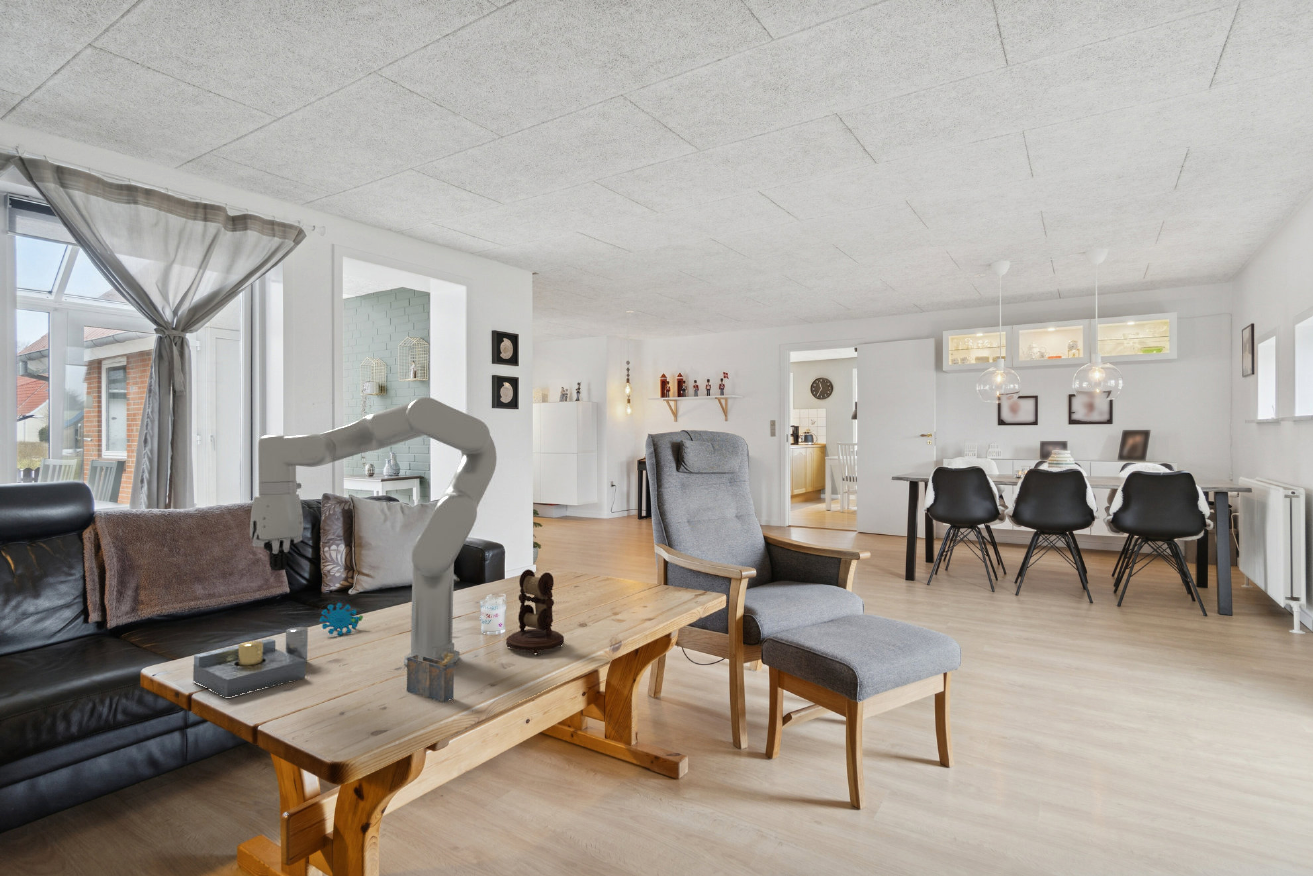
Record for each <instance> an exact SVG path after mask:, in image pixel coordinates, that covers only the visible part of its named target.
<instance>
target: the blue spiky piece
mask: <svg viewBox="0 0 1313 876" xmlns="http://www.w3.org/2000/svg"><path fill="white" fill-rule="evenodd" d="M342 606H343V604H342V602H337V603H336V608H335V609H334V604H329V605H327V609H326V608H324V609H323V610H322V611H321V616H320V619H319V622H321V623H322V625H321V627H322V630H326V629H327V628H329V629H328V631H327V632H328V634H329V635H333V634H334V632H335V631H337V630H338V629H339V630H338V631H337V634H336V635H337V636H339V637H340V636H341V637H342V635H343V634H344V631H343V630H344V629H346V631H345V634H346V635H349V634H351V633H352V632H353V631H352V630H355V629H357V627H358V625H359V622H362V620H363V619H364V616H363V615H362V614H361V615H359V616H358V615H357V610H356V609H355V608H354V609H352V610H350V609H351V605H349V604H346V605H345V607H343V608H342ZM340 608H342V609H340ZM328 610H329V612H330V613H328ZM325 616H326V617H327V618H326V617H325ZM323 622H324V623H323ZM350 626H351V628H350Z"/></svg>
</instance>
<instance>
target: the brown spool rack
mask: <svg viewBox="0 0 1313 876" xmlns="http://www.w3.org/2000/svg"><path fill="white" fill-rule="evenodd" d="M518 582H519V584H518V585H519V587H520V589H519V592H520V594H519V595H518V600H519V603H520V607H519V611H518V617H517V618H518V623H519V626H518V627H519V631H515V632H513V633H512V634H510V635H508V636H507V637H506V640H505V641H506V643H505V645H506V646H507V647H510V649H513V650H517V651H526V652H533V653H532V654H534V653H537V654H538V652H539V651H549V650H552V649H553V650H554V649H556V648H559V647H560V646H561V645H562V644H563V645H564V643H565V636H564V635H563V634H562V633H559V631H556V630H553V629H552V627H553V625H552V624H553V622H554V617H553V606H554V604H555V600H554V599H553V590H554V588H553V587H554V586H555V585H554V584H555V582H554V577H553V575H552V573H550V572H543V573H542V574H541V575H540V576H539V577H538V576H536V575H535V572H534V570H532V569H525V570H524V571H522V573H521V574H520V577H519V581H518ZM526 602H531V603H533V604H534V607H535V610H534V607H533V606H532V604H525V603H526ZM526 627H529V628H527V629H526Z"/></svg>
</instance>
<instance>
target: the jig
mask: <svg viewBox="0 0 1313 876" xmlns="http://www.w3.org/2000/svg"><path fill="white" fill-rule="evenodd" d="M260 641H261V642H263V663H261V664H258V665H254V666H246V667H241V666H238V657H239V645H234V646H230V647H226V648H222V649H216V650H213V651H212V650H211V651H208V652H203V653H197V654H194V655H193V672H192V673H193V675H192V676H193V677H192V678H193V681H195V682H196V683H199V684H201V685H203V686H205V687H207V688H208V689H211V690H212V691H214V692H216V693H218V694H219V695H222V696H224V697H232V696H235V695H240V694H242V693H247V692H249V691H255V690H257V689H262V688H265V687H271V686H273V685H278V684H281V683H285V684H287V683H286V682H289V681H293V682H295V681H294V680H296V681H299V680H298V679H300V680H303V679H302V678H304V679H306V664H305V660H304V659H301V658H298V657H296V656H293V655H290V654H288V653H286V651H282V650H279V649H276V639H273V638H266V639H263V640H260ZM193 681H192V682H193ZM289 683H290V682H289ZM278 686H279V685H278ZM271 688H272V687H271ZM219 695H218V696H219Z"/></svg>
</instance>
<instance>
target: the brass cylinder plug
mask: <svg viewBox="0 0 1313 876" xmlns="http://www.w3.org/2000/svg"><path fill="white" fill-rule="evenodd" d="M261 641H262V640H253V641H252V640H251V641H245V642H241V643H240V644H239V645H238V646H239V657H238V666H241V667H246V666H254V665H258V664H261V663H263V642H261Z"/></svg>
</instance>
